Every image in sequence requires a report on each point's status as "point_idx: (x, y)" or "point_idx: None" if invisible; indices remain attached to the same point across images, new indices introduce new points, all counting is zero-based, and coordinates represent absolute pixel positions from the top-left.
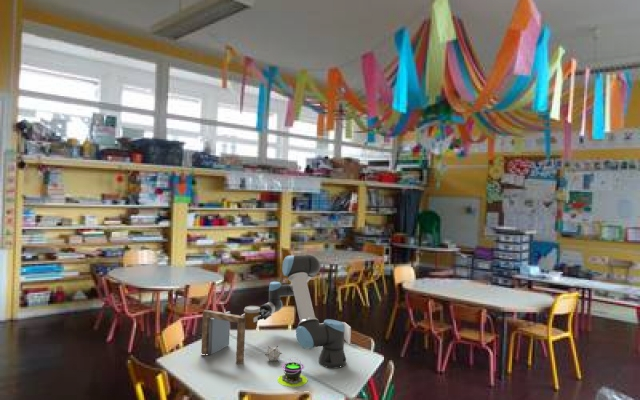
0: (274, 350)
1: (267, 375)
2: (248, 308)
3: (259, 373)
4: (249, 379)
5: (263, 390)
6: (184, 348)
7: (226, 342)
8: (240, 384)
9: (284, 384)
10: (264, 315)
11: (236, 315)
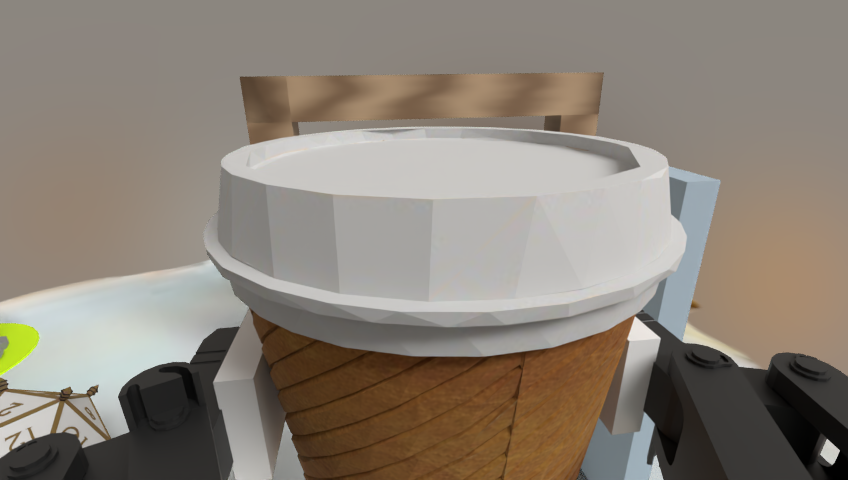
0: (7, 392)
1: (100, 346)
2: (495, 151)
3: (150, 342)
4: (189, 301)
5: (112, 282)
6: (706, 341)
7: (593, 454)
8: (214, 276)
9: (2, 327)
10: (52, 445)
11: (323, 76)
